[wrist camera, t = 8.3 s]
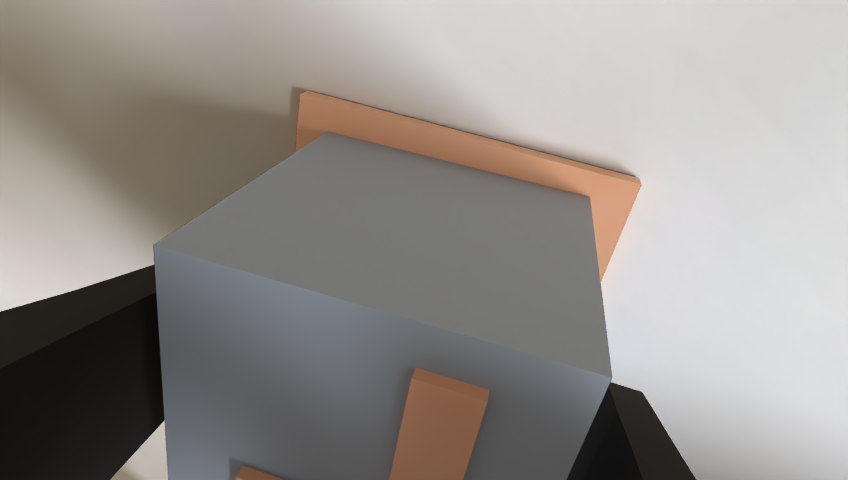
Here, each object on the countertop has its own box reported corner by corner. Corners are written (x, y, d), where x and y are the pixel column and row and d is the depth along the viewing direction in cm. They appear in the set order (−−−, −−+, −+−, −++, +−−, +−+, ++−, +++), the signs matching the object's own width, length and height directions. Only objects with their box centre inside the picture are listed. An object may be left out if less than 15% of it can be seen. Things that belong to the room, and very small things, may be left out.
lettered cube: (518, 401, 13) (490, 658, 8) (307, 337, 14) (163, 540, 9) (590, 197, 11) (613, 390, 6) (328, 131, 11) (142, 252, 6)
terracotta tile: (535, 427, 14) (534, 438, 14) (283, 346, 15) (276, 355, 14) (638, 178, 11) (641, 184, 10) (307, 90, 11) (299, 93, 11)
